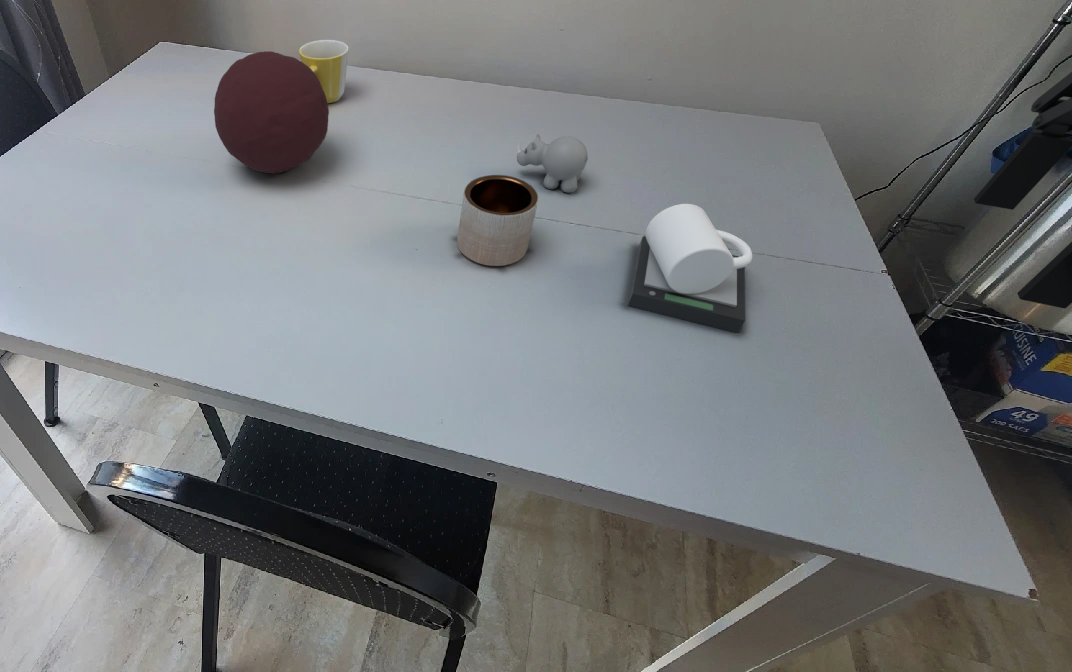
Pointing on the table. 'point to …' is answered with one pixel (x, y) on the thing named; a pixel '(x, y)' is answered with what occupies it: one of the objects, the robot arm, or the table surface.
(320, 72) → the mug
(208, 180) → the table surface
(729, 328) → the scale
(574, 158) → the chubby cartoon animal
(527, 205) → the planter
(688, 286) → the mug
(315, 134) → the decorative sphere
